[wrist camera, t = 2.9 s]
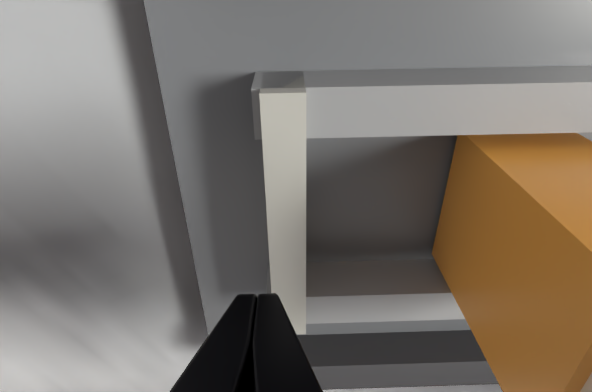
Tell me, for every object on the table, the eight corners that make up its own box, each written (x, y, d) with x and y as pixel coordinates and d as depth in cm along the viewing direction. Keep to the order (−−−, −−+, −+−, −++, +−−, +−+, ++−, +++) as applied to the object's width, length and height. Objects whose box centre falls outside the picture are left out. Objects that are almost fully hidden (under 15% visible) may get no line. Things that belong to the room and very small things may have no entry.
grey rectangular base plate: (980, -132, 8) (1101, -150, 7) (645, 347, 16) (674, 378, 15) (169, -124, 8) (148, -141, 7) (237, 359, 16) (233, 392, 14)
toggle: (566, 126, 11) (914, 323, 5) (520, 251, 13) (717, 487, 7) (458, 129, 11) (677, 329, 5) (431, 253, 13) (555, 493, 7)
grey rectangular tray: (934, -110, 9) (1211, -144, 6) (647, 320, 17) (718, 388, 14) (140, -102, 9) (76, -133, 6) (216, 333, 17) (203, 406, 14)
